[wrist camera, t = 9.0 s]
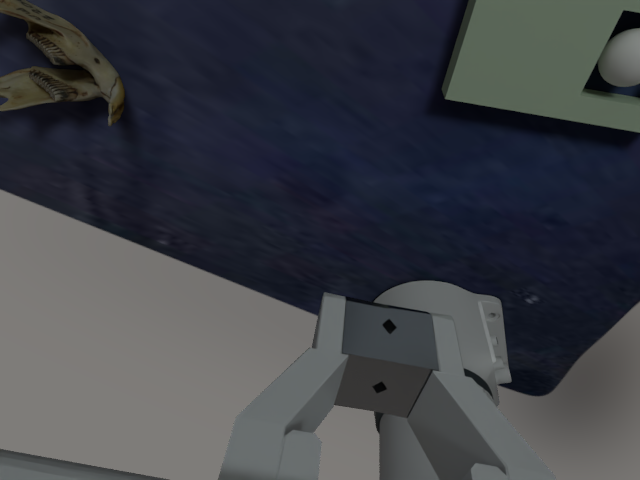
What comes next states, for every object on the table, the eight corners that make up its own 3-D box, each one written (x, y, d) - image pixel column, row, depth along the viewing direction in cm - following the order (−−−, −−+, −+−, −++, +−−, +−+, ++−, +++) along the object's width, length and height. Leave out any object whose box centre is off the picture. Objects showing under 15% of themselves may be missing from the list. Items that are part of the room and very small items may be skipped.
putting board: (734, -9, 30) (759, -4, 28) (649, 125, 36) (665, 136, 34) (484, -51, 30) (491, -49, 28) (441, 89, 36) (444, 98, 34)
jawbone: (149, 161, 38) (24, 181, 31) (66, 84, 44) (-58, 85, 36) (163, 57, 33) (15, 51, 25) (66, -15, 38) (-78, -38, 31)
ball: (653, 79, 29) (592, 60, 31) (636, 103, 33) (583, 85, 34) (686, 25, 29) (623, 9, 30) (665, 55, 32) (610, 40, 34)
